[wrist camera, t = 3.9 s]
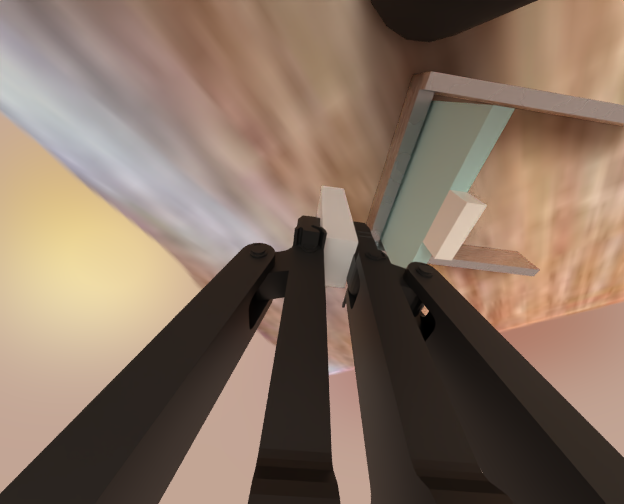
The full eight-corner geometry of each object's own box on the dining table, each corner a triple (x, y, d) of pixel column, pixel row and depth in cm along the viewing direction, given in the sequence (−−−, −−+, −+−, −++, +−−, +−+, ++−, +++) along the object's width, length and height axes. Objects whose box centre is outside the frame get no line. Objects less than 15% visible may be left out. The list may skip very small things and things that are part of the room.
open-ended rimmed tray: (361, 239, 27) (366, 256, 24) (412, 74, 18) (431, 71, 15) (512, 257, 28) (533, 276, 26) (634, 113, 19) (690, 116, 16)
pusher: (377, 231, 26) (408, 303, 17) (424, 99, 19) (522, 107, 10) (386, 232, 26) (422, 304, 17) (437, 102, 19) (548, 111, 10)
